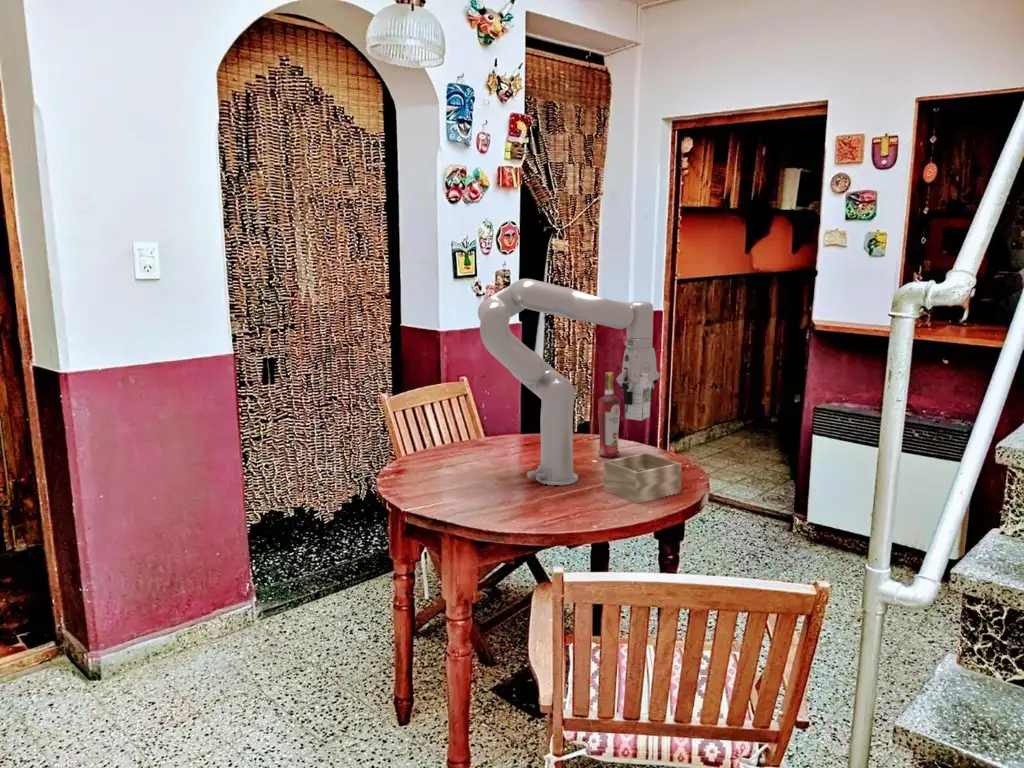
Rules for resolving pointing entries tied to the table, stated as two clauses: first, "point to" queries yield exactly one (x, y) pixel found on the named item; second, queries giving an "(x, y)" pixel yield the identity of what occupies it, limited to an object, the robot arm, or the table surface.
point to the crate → (642, 477)
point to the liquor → (608, 419)
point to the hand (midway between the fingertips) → (638, 402)
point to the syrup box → (639, 400)
